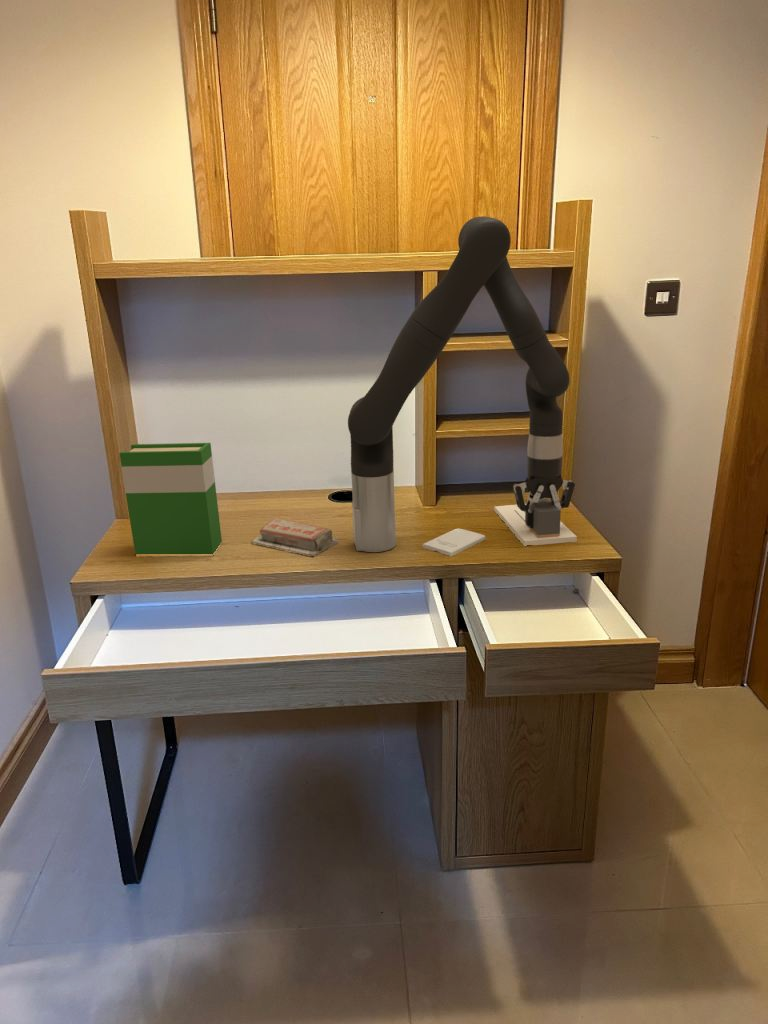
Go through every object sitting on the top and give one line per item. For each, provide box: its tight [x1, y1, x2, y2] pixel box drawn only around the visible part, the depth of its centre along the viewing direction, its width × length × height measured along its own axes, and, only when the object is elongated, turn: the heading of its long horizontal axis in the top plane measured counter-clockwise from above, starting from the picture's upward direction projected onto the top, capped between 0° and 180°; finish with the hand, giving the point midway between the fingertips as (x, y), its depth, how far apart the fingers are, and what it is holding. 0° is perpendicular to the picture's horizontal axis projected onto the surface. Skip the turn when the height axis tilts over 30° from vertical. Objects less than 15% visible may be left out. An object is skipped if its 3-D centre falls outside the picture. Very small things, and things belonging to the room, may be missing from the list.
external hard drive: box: [421, 527, 486, 557], centre depth 168 cm, size 2×8×12 cm
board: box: [493, 503, 578, 547], centre depth 177 cm, size 12×24×1 cm, turn 8°
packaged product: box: [250, 518, 339, 557], centre depth 172 cm, size 18×5×10 cm
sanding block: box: [525, 498, 562, 538], centre depth 170 cm, size 9×5×6 cm, turn 8°
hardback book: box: [119, 442, 223, 555], centre depth 167 cm, size 18×7×24 cm, turn 87°
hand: (542, 525), depth 170 cm, fingers closed on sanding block, 5 cm apart
